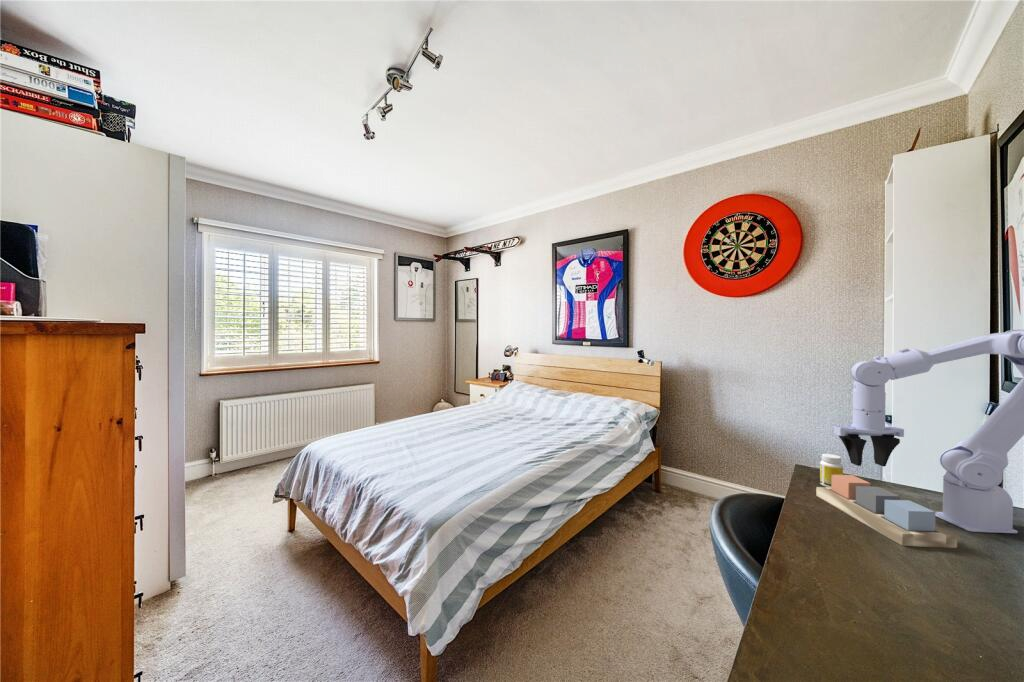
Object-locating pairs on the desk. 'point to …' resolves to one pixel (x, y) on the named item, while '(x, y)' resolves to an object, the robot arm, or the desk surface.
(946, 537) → the board
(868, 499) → the grey block
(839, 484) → the button terracotta
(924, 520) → the light blue block
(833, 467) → the supplement bottle
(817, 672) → the desk surface
